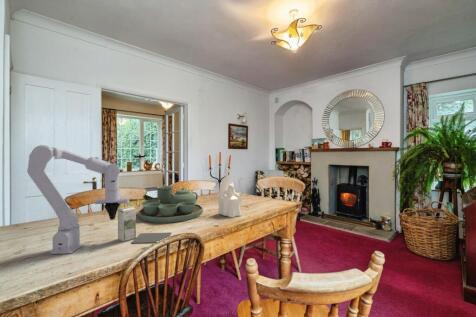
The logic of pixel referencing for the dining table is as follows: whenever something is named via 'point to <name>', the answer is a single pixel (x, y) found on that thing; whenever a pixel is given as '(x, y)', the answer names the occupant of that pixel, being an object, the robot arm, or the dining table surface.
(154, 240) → the mat
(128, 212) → the syrup box
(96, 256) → the dining table surface
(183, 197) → the tea set
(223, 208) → the religious statue
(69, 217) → the robot arm
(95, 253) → the dining table surface
